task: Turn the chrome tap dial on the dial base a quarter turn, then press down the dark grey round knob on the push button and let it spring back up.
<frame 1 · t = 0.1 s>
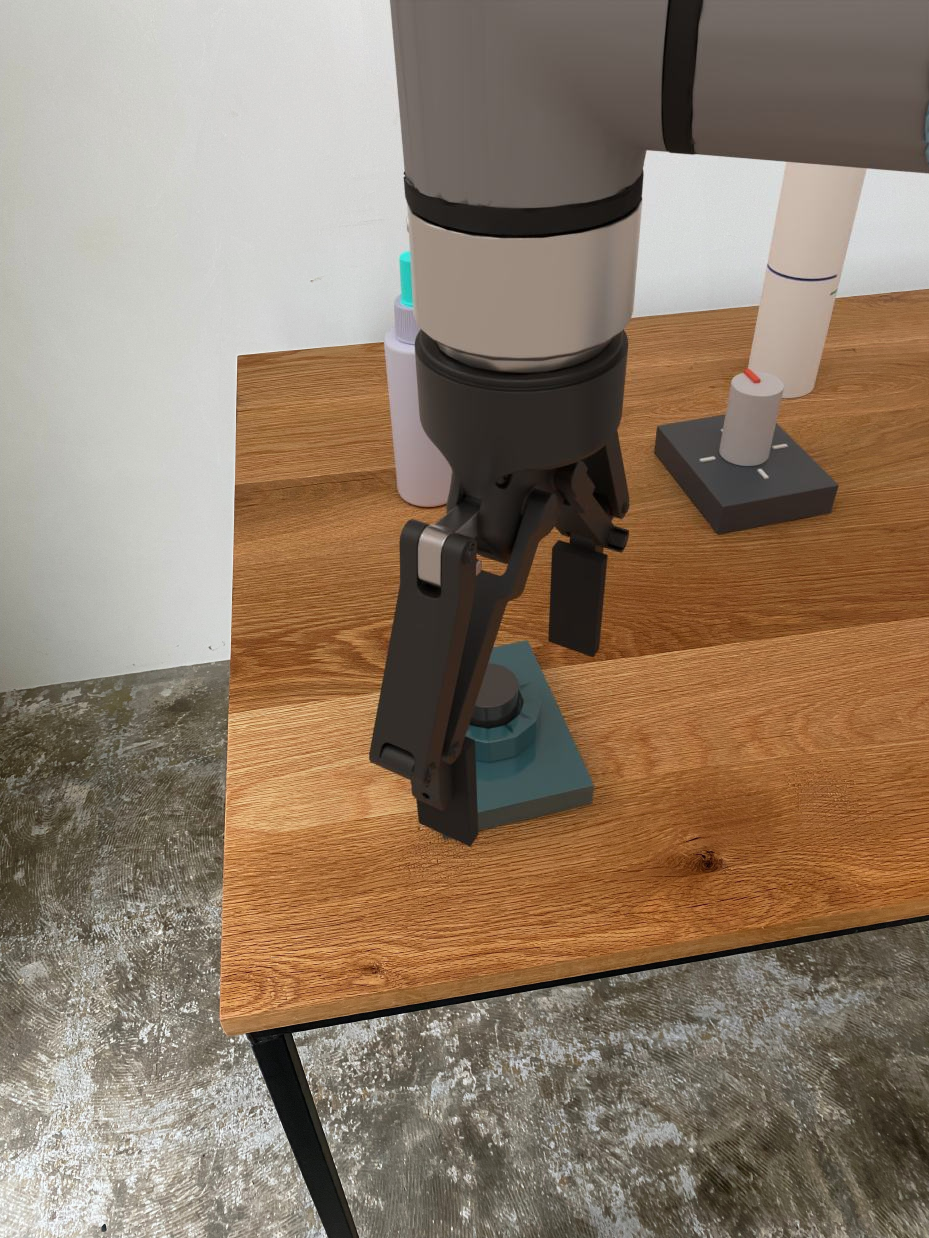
hand: (516, 729, 47), 14 cm above the table, tool pointing down, fingers open, 13 cm apart
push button: (488, 741, 65), on the table
spray bottle: (430, 492, 88), on the table
dial base: (738, 481, 87), on the table
tap dial: (750, 417, 83), point 7 cm above the table, hinge at 0.0°
dark grey round knob: (488, 695, 62), point 5 cm above the table, slide at 0.1 cm
cylindrical container: (779, 383, 101), on the table
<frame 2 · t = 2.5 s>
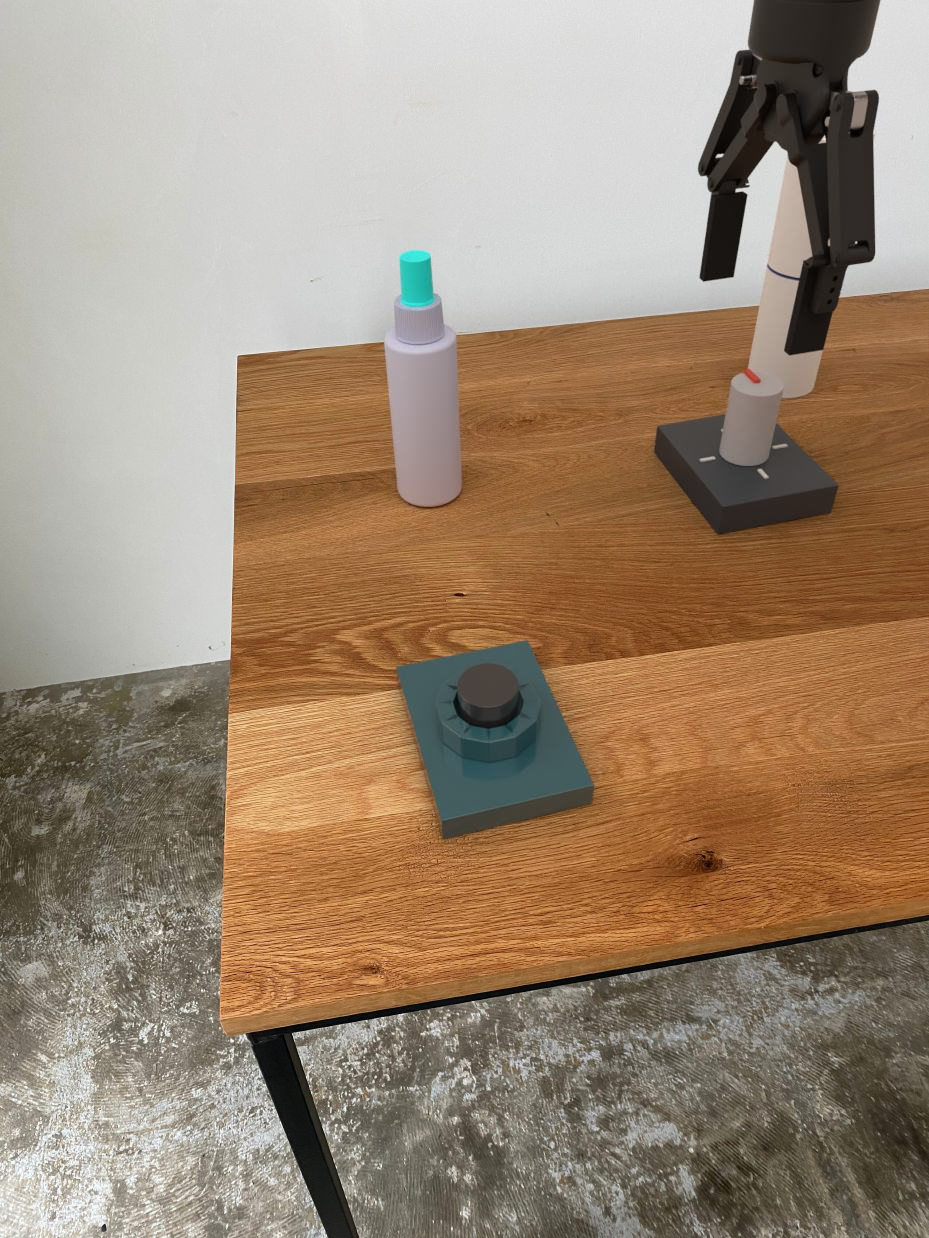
hand: (756, 312, 72), 18 cm above the table, tool pointing down, fingers open, 13 cm apart
nothing on the table moved.
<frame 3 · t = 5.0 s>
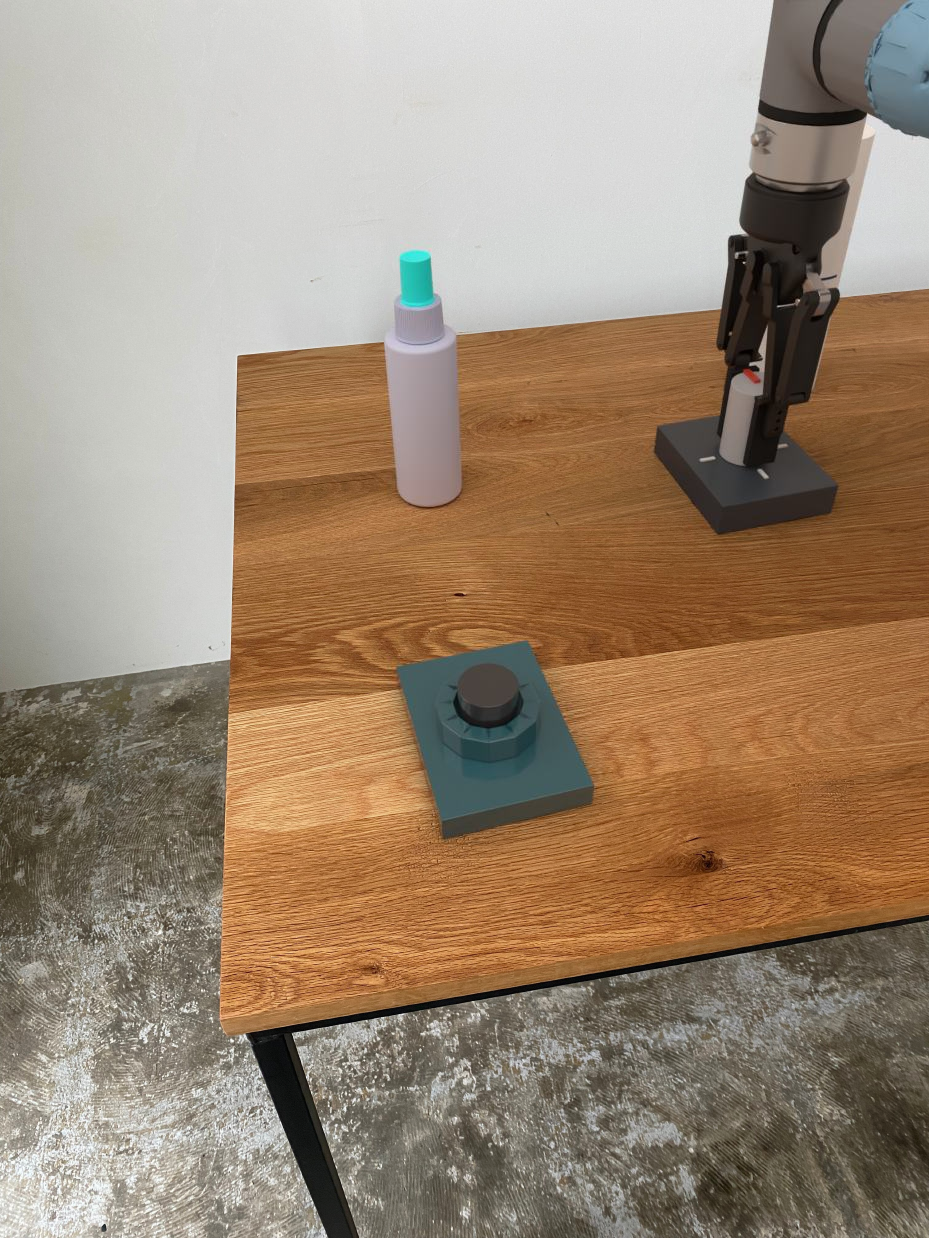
hand: (745, 447, 85), 4 cm above the table, tool pointing down, fingers closed on tap dial, 4 cm apart
tap dial: (750, 417, 83), point 7 cm above the table, hinge at 0.0°, touching gripper
everything else where it was.
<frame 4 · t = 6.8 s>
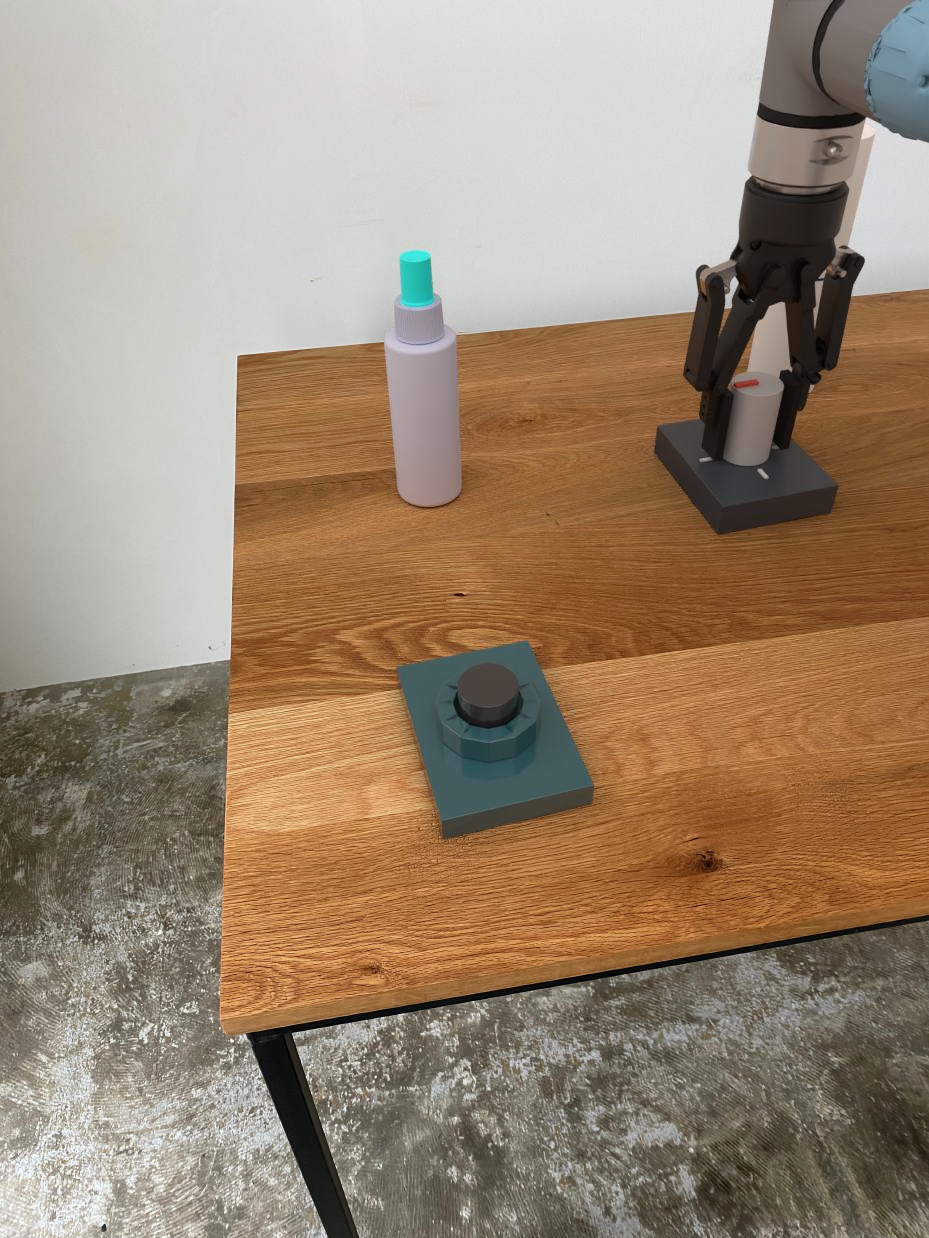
hand: (744, 447, 85), 4 cm above the table, tool pointing down, fingers open, 6 cm apart
tap dial: (750, 417, 83), point 7 cm above the table, hinge at 90.3°
everything else where it was.
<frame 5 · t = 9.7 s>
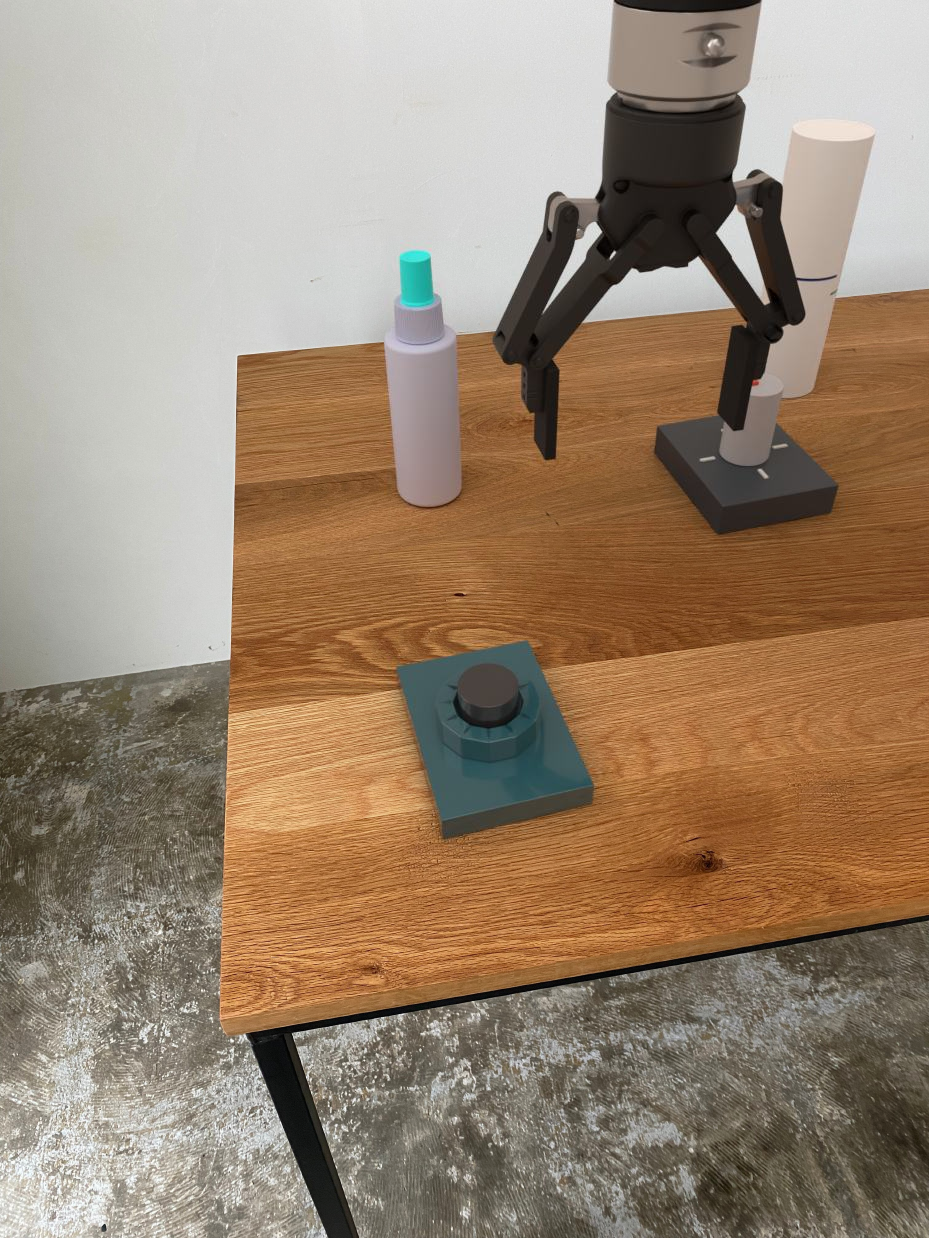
hand: (638, 435, 65), 15 cm above the table, tool pointing down, fingers open, 13 cm apart
nothing on the table moved.
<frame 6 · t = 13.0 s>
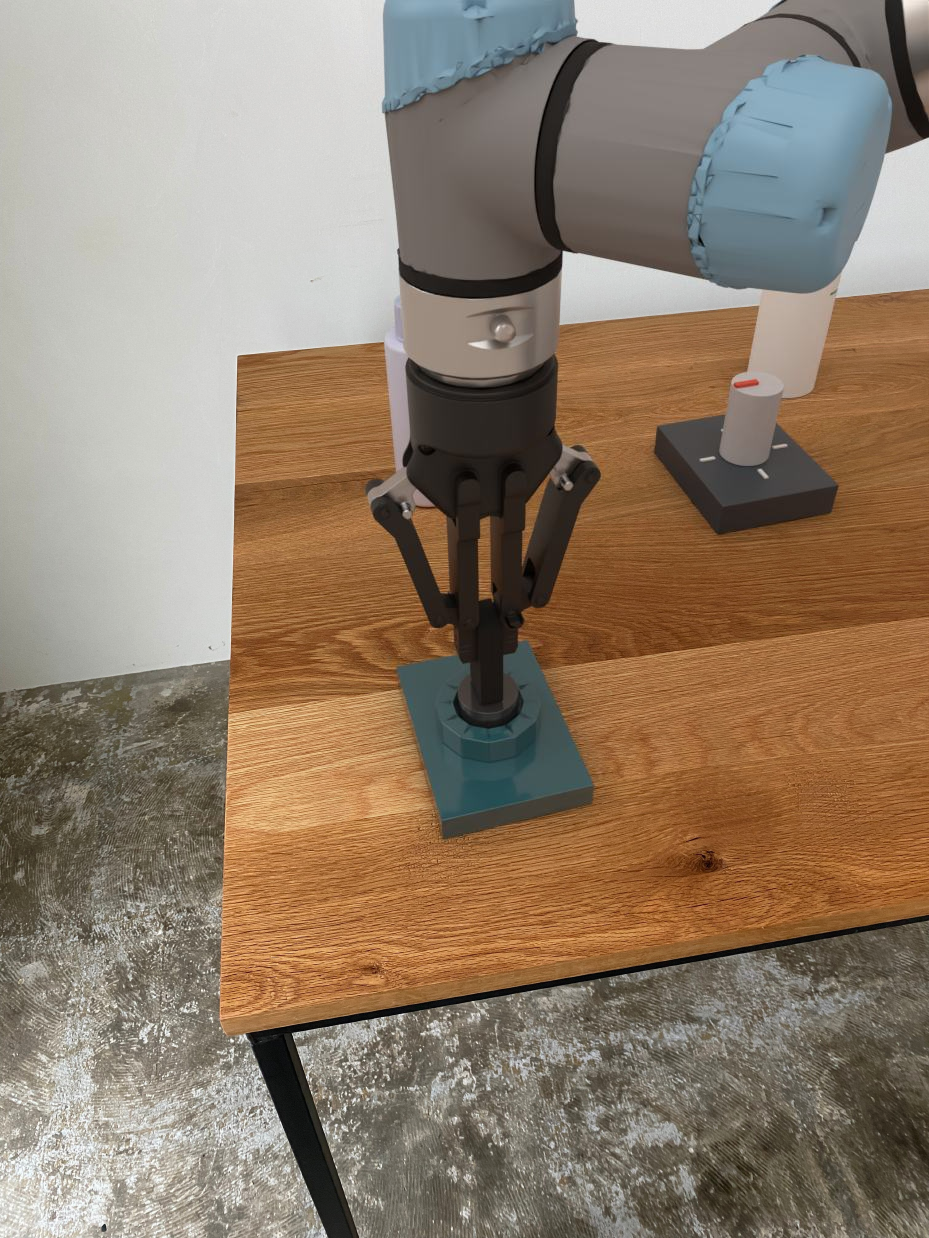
hand: (486, 687, 61), 5 cm above the table, tool pointing down, fingers closed
dark grey round knob: (488, 701, 62), point 4 cm above the table, slide at -0.5 cm, touching gripper
everything else where it was.
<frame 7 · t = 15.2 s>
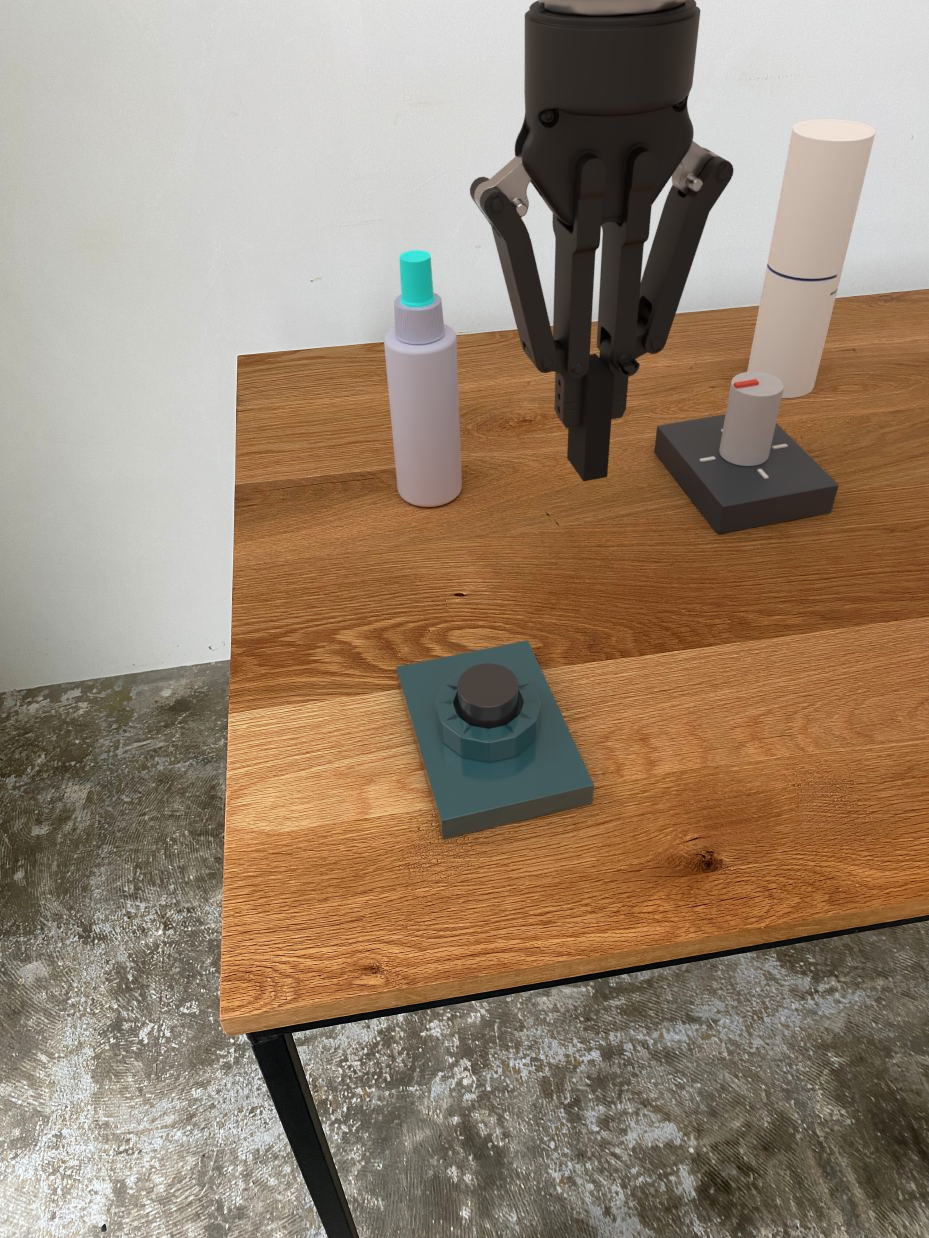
hand: (586, 467, 56), 19 cm above the table, tool pointing down, fingers closed
dark grey round knob: (488, 695, 62), point 5 cm above the table, slide at 0.1 cm
everything else where it was.
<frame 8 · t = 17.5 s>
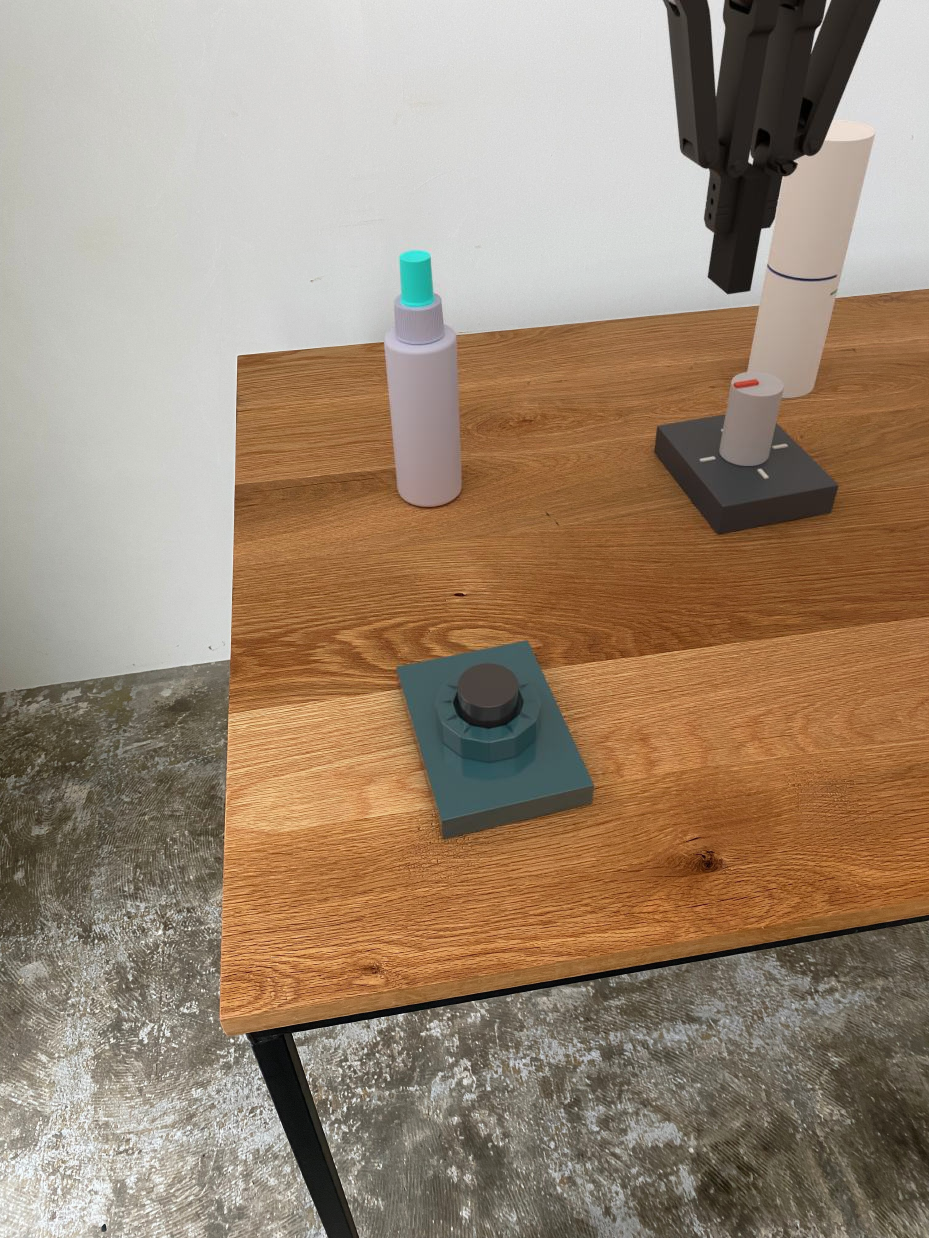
hand: (728, 283, 57), 26 cm above the table, tool pointing down, fingers closed
nothing on the table moved.
at the end: tap dial at +90° (first picture: +0°); dark grey round knob pushed in 1.2 cm at the most during the clip, back to where it started at the end; dark grey round knob slide at 0.1 cm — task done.
